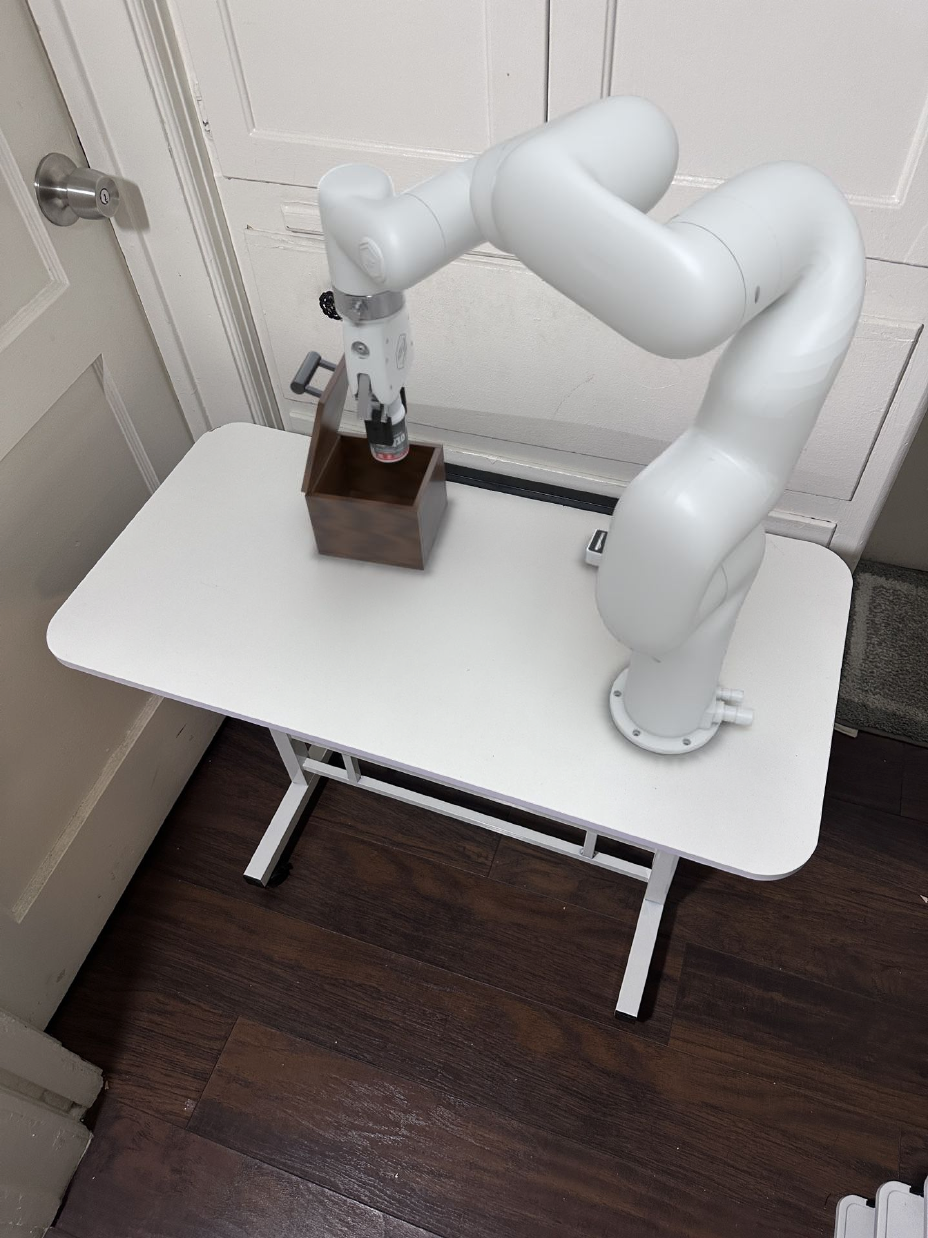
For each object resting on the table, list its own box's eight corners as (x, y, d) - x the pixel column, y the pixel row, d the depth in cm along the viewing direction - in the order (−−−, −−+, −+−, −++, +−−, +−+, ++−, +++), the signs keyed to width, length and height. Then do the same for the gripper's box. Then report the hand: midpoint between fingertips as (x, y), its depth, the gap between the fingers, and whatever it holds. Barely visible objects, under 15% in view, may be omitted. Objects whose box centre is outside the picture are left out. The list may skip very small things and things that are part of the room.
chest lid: (359, 337, 109) (319, 321, 109) (324, 403, 102) (282, 387, 101) (339, 428, 121) (303, 414, 121) (306, 494, 114) (268, 479, 114)
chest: (447, 504, 128) (443, 444, 119) (423, 570, 120) (417, 511, 112) (348, 489, 130) (336, 430, 122) (318, 554, 123) (304, 495, 114)
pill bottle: (375, 467, 112) (367, 412, 105) (367, 442, 115) (358, 387, 108) (413, 458, 112) (407, 403, 106) (404, 434, 115) (398, 379, 109)
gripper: (379, 343, 91) (398, 480, 105) (424, 252, 101) (436, 388, 115) (308, 335, 92) (335, 471, 106) (360, 246, 102) (378, 381, 117)
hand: (387, 426), depth 111 cm, fingers closed on pill bottle, 4 cm apart
